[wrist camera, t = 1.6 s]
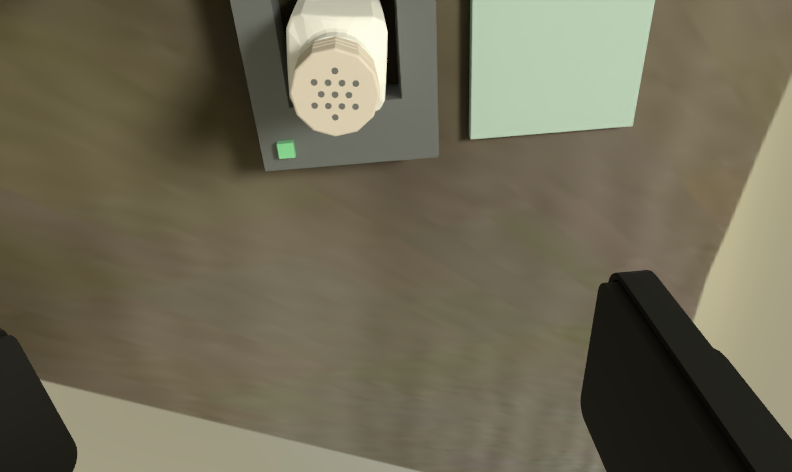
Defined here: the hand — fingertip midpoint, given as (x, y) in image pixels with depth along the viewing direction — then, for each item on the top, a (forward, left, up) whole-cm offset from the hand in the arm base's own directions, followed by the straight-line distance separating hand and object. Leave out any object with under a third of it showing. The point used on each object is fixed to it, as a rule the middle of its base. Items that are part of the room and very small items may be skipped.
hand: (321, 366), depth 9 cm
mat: (0, +11, -22) cm, 25 cm away
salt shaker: (0, 0, -23) cm, 22 cm away
